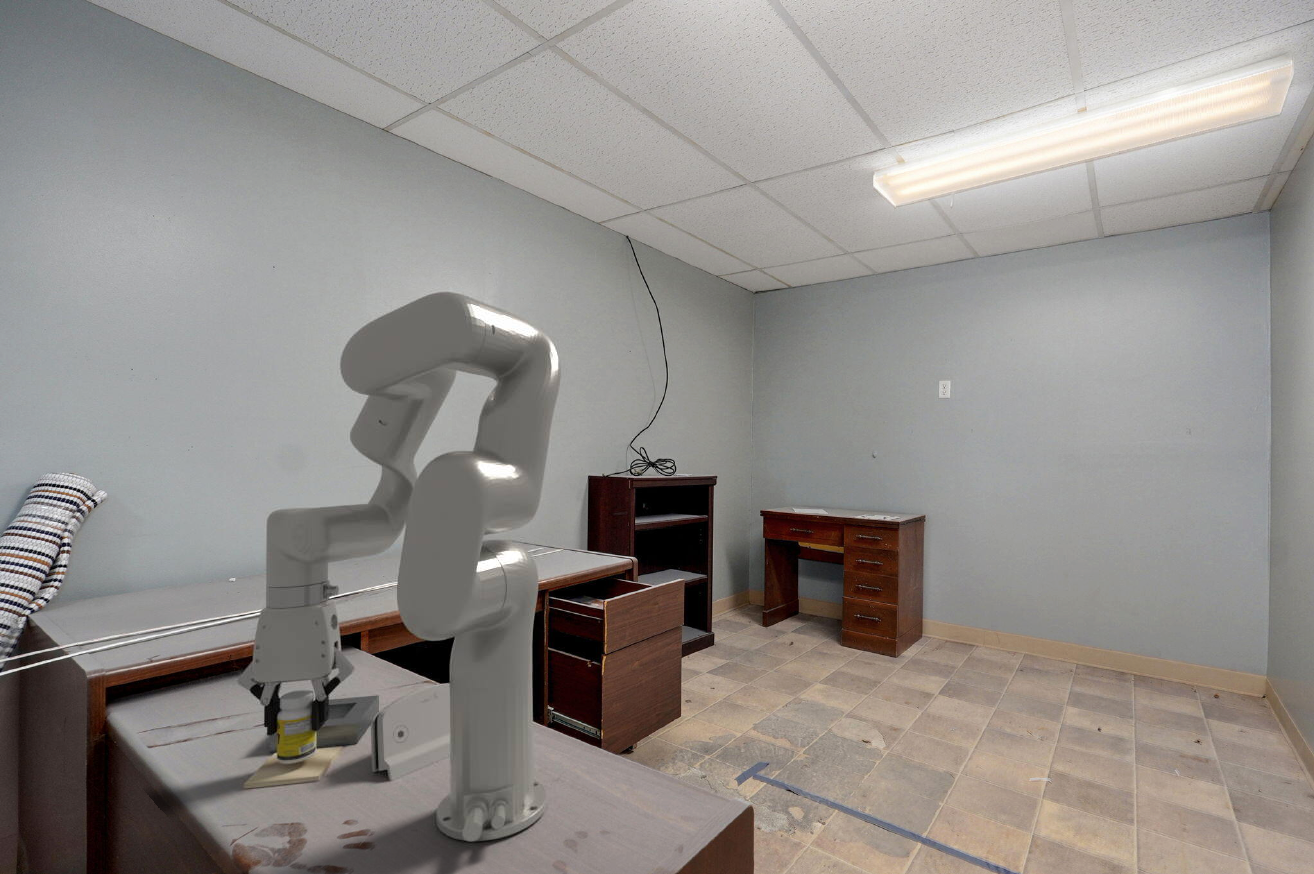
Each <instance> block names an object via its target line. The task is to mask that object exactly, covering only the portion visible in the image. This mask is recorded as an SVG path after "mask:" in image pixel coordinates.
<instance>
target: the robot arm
mask: <svg viewBox="0 0 1314 874" xmlns="http://www.w3.org/2000/svg"><path fill="white" fill-rule="evenodd" d="M339 362H340V363H339V367H340V368H339V369H340V374H341V378H342V380H343V382H344V384H345V385H346V386H347V387H348V388H349V389H351V390H352V391H354V392H355V393H357V394H360V395H365V396H368V397H367V399H366V401H365V402H364V405H363V407H362V408H361V410H360V413H359V414H358V415H357V418H356V420H355V422H354V423H353V426H352V428H351V430H350V433H349V439H350V442H351V445H352V447H354V448H355V449H356V451H358V452H359V454H361V455H362V456H364V457H365V458H367V459H368V460H370V461H372V462H374V463H375V464H377V465H379V466H381V475H380V479H379V483H378V485H377V487H376V488H375V491H374V492H373V495H372V496H371V498H370V499H369V500H368V503H362V504H361V503H359V504H358V503H357V504H348V505H346V504H345V505H336V506H322V507H321V506H320V507H297V508H295V507H294V508H293V507H292V508H283V509H277V510H273V511H272V512H271V513H270V514H269V515H268V517H267V518H266V541H265V542H266V550H265V551H266V554H265V556H266V557H265V558H266V559H265V562H266V563H265V565H266V566H265V568H266V569H265V573H266V575H265V578H266V579H265V584H266V585H265V607H264V608H262V609H261V610H260V613H259V616H258V620H257V625H256V630H255V637H254V643H253V652H252V653H253V655H252V661H251V662H250V663H249V664H248V666H247V667H246V668H245V670H244V671H242V673H241V674H240V676H239V677H238V679H237V681H236V682H237V684H238V685H240V686H241V687H243V688H244V689H245V690H247V691H250V694H252V695H253V696H254V697H255V698H256V699H258V701H259V703H260V705H261V706H263V707H264V708H263V709H264V710H263V714H264V715H263V725H264V728H266V736H267V737H270V735H273V734H274V733H276V732H277V715H278V713H279V712H280V711H281V710H282V709H280V698H281V697H280V691H281V688H282V684H283V683H292V682H303V681H310V682H311V685H312V688H313V693H314V694H315V695H314V696H315V697H314V700H313V702H312V730H313V731H318V730H319V729H320V728H321V727H322V726H323V725H324V724H325V722H326V721H327V720H328V717H329V700H330V694H331V693H333V691H334V690H335V689H336V688H337V687H338V686H339V685H340V684H341V683H342V682H343V681H345V680H346V679H347V678H349V677H350V676H351V675H352V674H353V672H355V670H356V669H355V666H354V665H353V664H352V663H351V662H350V661H349V660H348V659H347V657H346V655H344V654H343V653H342V643H341V633H340V632H341V631H340V623H339V617H338V612H337V607H336V603H335V601H329V599H330V598H331V597H333V596H338V595H339V591H340V589H339V588H340V587H339V585H333V584H331V583H330V580H329V564H330V563H336V562H342V561H346V560H352V559H359V558H366V557H371V556H376V555H379V554H382V553H384V552H385V551H387V550H388V549H390V548H391V547H392V546H393V545H394V544H395V542H396V541H397V540H398V538H399V537H400V536H401V534H402V533H403V531H404V536H403V543H402V551H401V554H400V555H401V556H400V560H399V561H400V563H399V569H398V576H397V582H396V583H397V584H396V602H397V609H398V613H399V615H400V619H401V620H402V622H403V624H404V626H405V627H406V629H407V630H408V631H409V633H412V634H413V635H414V636H415V637H417V638H419V639H422V640H424V641H431V642H433V641H434V642H435V641H444V640H447V639H452V638H454V640H453V642H452V643H453V644H452V647H451V652H450V661H449V683H450V756H449V757H450V758H449V759H450V760H449V768H450V769H449V772H450V773H449V774H450V775H449V777H450V780H449V781H450V783H449V784H450V792H449V793H448V794H447V795H445V797H443V798H442V800H441V801H440V803H439V804H438V805H437V808H436V810H435V812H436V814H435V815H436V819H435V821H436V825H437V828H438V829H439V831H440V832H442V833H443V834H444V835H446V836H447V837H450V838H453V839H455V840H460V841H466V842H483V841H484V842H485V841H491V840H497V839H502V838H504V837H509V836H511V835H514V834H516V833H519V832H520V831H522V830H525V829H526V828H527V829H528V827H530V826H531V825H533V824H534V823H536V821H538V819H540V818H541V817H542V815H543V814H544V812H545V811H546V808H547V805H548V793H547V789H546V787H545V786H544V784H542V783H541V782H539V780H536V779H535V776H534V772H535V771H534V769H535V768H534V717H533V715H534V713H533V709H534V708H533V706H534V705H533V631H534V620H535V614H536V607H537V601H538V594H539V574H538V568H537V565H536V562H535V560H534V558H533V556H532V555H531V553H530V552H529V551H528V550H527V549H526V548H525V547H524V546H522V545H520V544H519V543H517V542H514V541H511V540H506V539H489V540H484V536H487V535H493V534H499V533H504V532H510V531H514V530H517V529H520V528H522V527H524V526H526V525H528V524H529V523H530V522H531V521H532V520H533V519H534V518H535V515H536V514H537V512H538V508H539V505H540V501H541V497H542V496H541V495H542V490H543V483H544V477H545V470H546V465H547V458H548V451H549V446H550V445H549V444H550V437H551V428H552V423H553V417H554V413H555V409H556V403H557V400H558V395H559V390H560V384H561V378H562V377H561V376H562V367H561V365H562V364H561V360H560V356H559V352H558V350H557V348H556V346H555V344H554V343H553V341H552V340H551V339H550V337H549V336H548V335H547V334H546V333H545V332H544V331H543V330H542V329H540V328H539V327H537V326H536V325H535V324H533V323H531V322H530V321H529V320H527V319H524V318H522V317H520V316H518V315H517V314H514V313H511V312H509V311H507V310H504V309H502V308H499V307H496V306H493V305H490V304H488V303H484V302H483V301H480V300H478V299H475V298H473V297H470V296H468V295H467V296H466V295H464V294H462V293H456V292H450V291H439V292H434V293H430V294H426V295H425V296H422V297H419V298H418V299H415V300H414V301H411V302H409V303H407V304H405V305H403V306H400V307H398V308H396V309H394V310H392V311H390V312H388V313H386V314H383V315H382V316H379V317H377V318H375V319H373V320H372V321H370V322H368V323H366V324H365V325H363V326H361V328H360V329H359V330H357V331H356V332H355V333H353V335H352V336H351V337H350V338H349V340H348V341H347V342H346V344H345V346H344V348H343V350H342V353H341V356H340V361H339ZM457 371H458V372H462V373H466V374H471V375H476V376H483V377H487V378H490V379H492V380H494V381H495V382H496V385H495V386H494V388H493V389H492V390H491V392H490V393H489V395H488V396H487V397H486V400H485V402H484V403H483V405H482V409H481V412H480V414H479V418H478V425H477V433H476V437H475V442H474V447H473V448H472V450H455V451H449V452H446V453H442V454H440V455H437V456H436V457H434V458H433V459H431V460H430V461H429V462H428V463H427V464H426V466H424V468H423V469H422V470H421V472H420V473H419V475H418V473H417V468H416V465H415V457H416V455H417V453H418V451H419V449H420V448H421V445H422V443H423V442H424V440H425V438H426V436H427V434H428V432H429V430H430V429H431V426H432V425H433V422H434V421H435V419H436V417H437V416H438V413H439V411H440V410H441V408H442V406H443V404H444V403H445V400H446V398H447V396H448V395H449V392H450V390H452V387H453V385H454V383H455V381H456V377H457V373H458V372H457ZM404 529H405V530H404ZM336 669H338V673H337V674H336V675H335V676H333V677H332V678H331V679H330V674H332V671H333V670H336Z"/></svg>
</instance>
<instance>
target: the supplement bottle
mask: <svg viewBox="0 0 1314 874" xmlns="http://www.w3.org/2000/svg"><path fill="white" fill-rule="evenodd" d="M279 698H280V709H282V710H281V711H280V712H279V713H278V715H277V752H276V753H277V760H278V762H279V763H283V764H290V763H296V762H300V761H303V760H306V759H308V758H310V757H312V756H313V755H314V754H315V752H316V749H317V748H316V731H313V730H312V702H313V701H314V700H315V697H314V690H311V689H299V690H293V691H290V692H286V693H284V694H282V695H281V696H280V697H279Z"/></svg>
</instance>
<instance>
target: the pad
mask: <svg viewBox="0 0 1314 874" xmlns="http://www.w3.org/2000/svg"><path fill="white" fill-rule="evenodd" d="M342 746H343V745H340V746H330V747H320V748H316V752H315V754H314V755H313V756H312V757H310V758H308V759H306V760H303V761H300V762H296V763H290V764H283V763H279V762H278V760H277V752H273V754H272V755H271V756H270V757H269V758H268V759H267V760H266V761H265V762H264V763H263V764H262V765H261V766H260V767H259V768H258V769H257V770H256V771H255V772H254V773H253V774H252V775H251V776H250V777H249V778H248V779H247V780H246V781H245V782H244V783H243V790H244V789H245V790H247V789H253V788H256V789H257V788H261V787H262V788H263V787H273V786H283V785H290V784H291V785H292V784H300V783H311V782H318V781H320V780H321V779H322V777H323V776H324V774H325V773H326V772H327V771H328V769H329V768H330V767H331V765H332V764H333V763H334V762H335V760H336V759H337V758H338V756H339V755H340V754H341V753H342V751H343V750H342V749H343V748H342Z"/></svg>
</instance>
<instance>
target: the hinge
mask: <svg viewBox="0 0 1314 874" xmlns="http://www.w3.org/2000/svg"><path fill="white" fill-rule="evenodd" d="M370 741H371V742H370V743H371V745H370V746H371V771H372V772H373V773H376V772H381V771H382V772H383V771H386V770H387V774H388V775H387V776H388V781H392V782H393V781H394V780H397V779H400V778H402V777H405V776H406V775H409V774H412V773H413V772H416V771H418V770H421V769H423V768H425V767H427V766H429V765H430V766H431V765H433V764H435V763H438V762H439V761H442V760H444V759H447V758H448V757H450V682H447V683H439V684H434V685H431V686H430V685H429V686H427V687H423V688H421V689H418V690H414V691H411V692H409V693H407V694H405V695H403V696H401V697H399V698H397V699H396V700H394V701H392V702H390V703H389V704H387V705H386V706H385V707H383V708H382V709H381V710H379V712H378V713H377V714H376V715H375V716H374V717H373V718H372V720H371V725H370Z"/></svg>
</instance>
